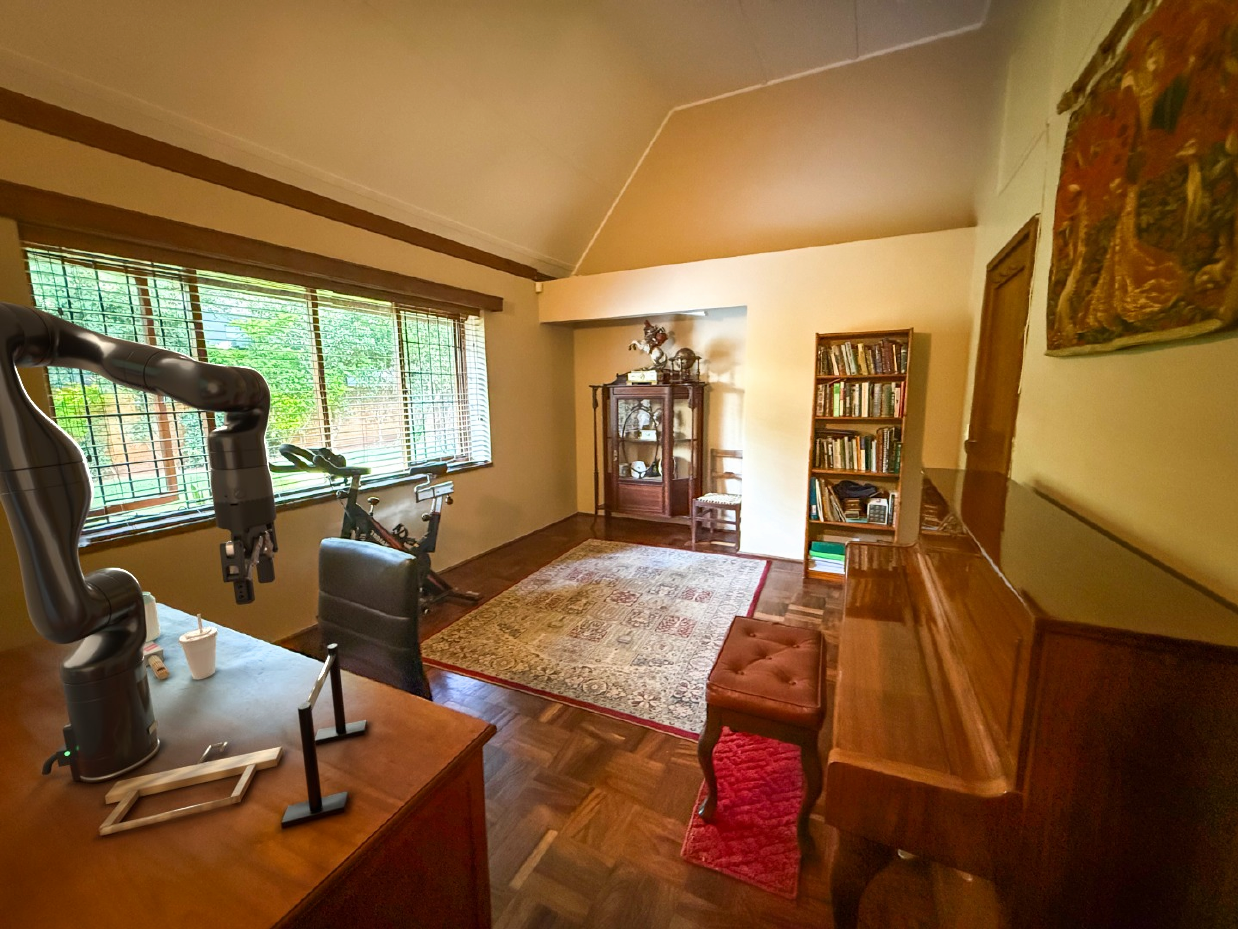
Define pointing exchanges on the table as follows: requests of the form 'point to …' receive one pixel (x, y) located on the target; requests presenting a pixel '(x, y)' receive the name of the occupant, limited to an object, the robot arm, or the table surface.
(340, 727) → the rail stand
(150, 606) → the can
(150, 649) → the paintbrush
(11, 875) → the table surface
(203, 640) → the smoothie
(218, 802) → the hanger
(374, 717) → the table surface
